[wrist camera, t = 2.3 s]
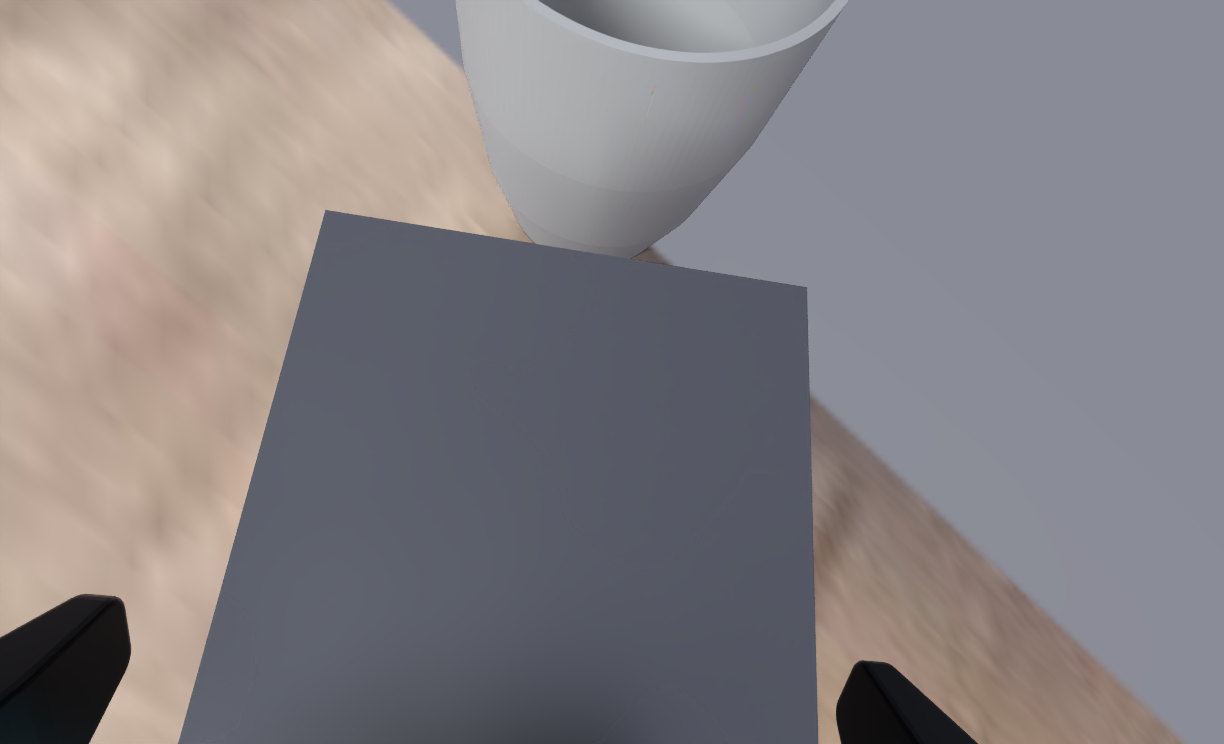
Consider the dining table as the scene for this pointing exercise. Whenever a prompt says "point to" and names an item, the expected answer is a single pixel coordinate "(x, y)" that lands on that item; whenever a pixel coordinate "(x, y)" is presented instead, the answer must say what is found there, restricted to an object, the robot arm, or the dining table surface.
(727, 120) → the cup
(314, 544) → the grey tall block
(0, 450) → the dining table surface
